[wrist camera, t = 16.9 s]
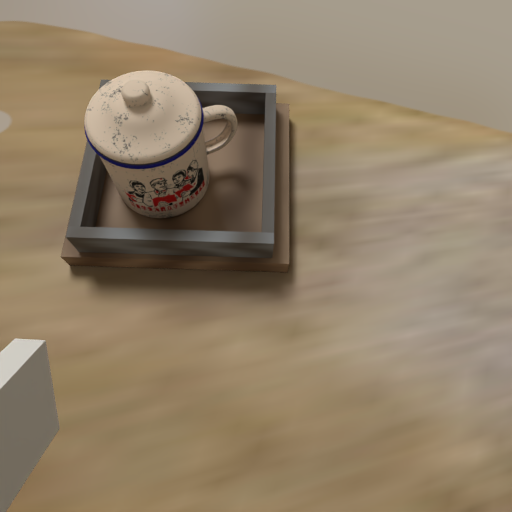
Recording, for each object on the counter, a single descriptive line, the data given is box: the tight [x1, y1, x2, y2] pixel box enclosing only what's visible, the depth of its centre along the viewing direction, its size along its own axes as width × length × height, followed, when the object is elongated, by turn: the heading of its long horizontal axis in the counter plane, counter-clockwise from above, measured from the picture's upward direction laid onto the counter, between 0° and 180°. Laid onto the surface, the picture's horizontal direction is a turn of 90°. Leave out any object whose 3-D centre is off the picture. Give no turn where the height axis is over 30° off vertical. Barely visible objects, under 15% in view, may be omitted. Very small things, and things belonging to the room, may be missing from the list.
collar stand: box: [61, 80, 289, 272], centre depth 41 cm, size 20×18×5 cm
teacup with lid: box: [84, 71, 237, 218], centre depth 36 cm, size 12×9×12 cm
